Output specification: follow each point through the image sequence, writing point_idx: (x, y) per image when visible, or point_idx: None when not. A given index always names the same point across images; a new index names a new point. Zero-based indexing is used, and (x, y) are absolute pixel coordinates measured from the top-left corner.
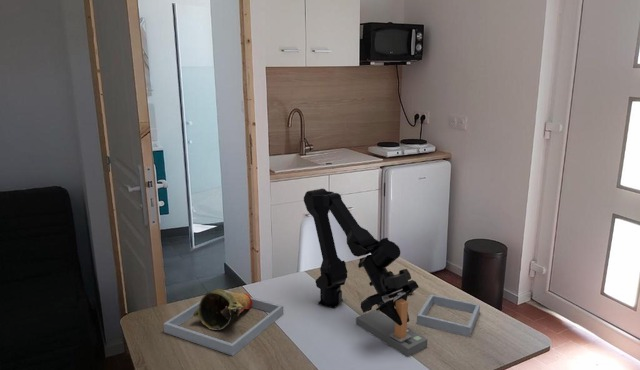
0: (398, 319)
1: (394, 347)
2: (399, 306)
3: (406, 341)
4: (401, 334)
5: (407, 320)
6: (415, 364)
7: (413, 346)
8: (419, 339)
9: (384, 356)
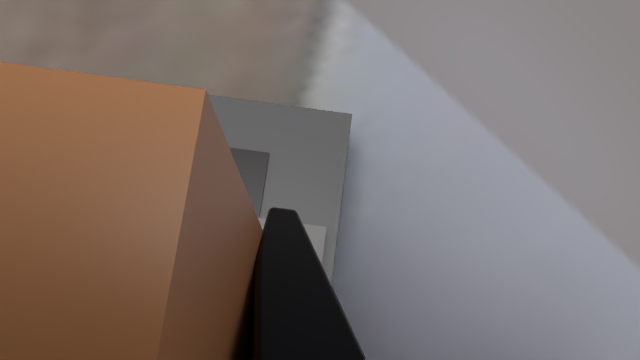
0: (318, 264)
1: None
2: (211, 282)
3: None
4: None
5: None
6: (384, 35)
7: (267, 103)
8: None
9: (499, 306)
